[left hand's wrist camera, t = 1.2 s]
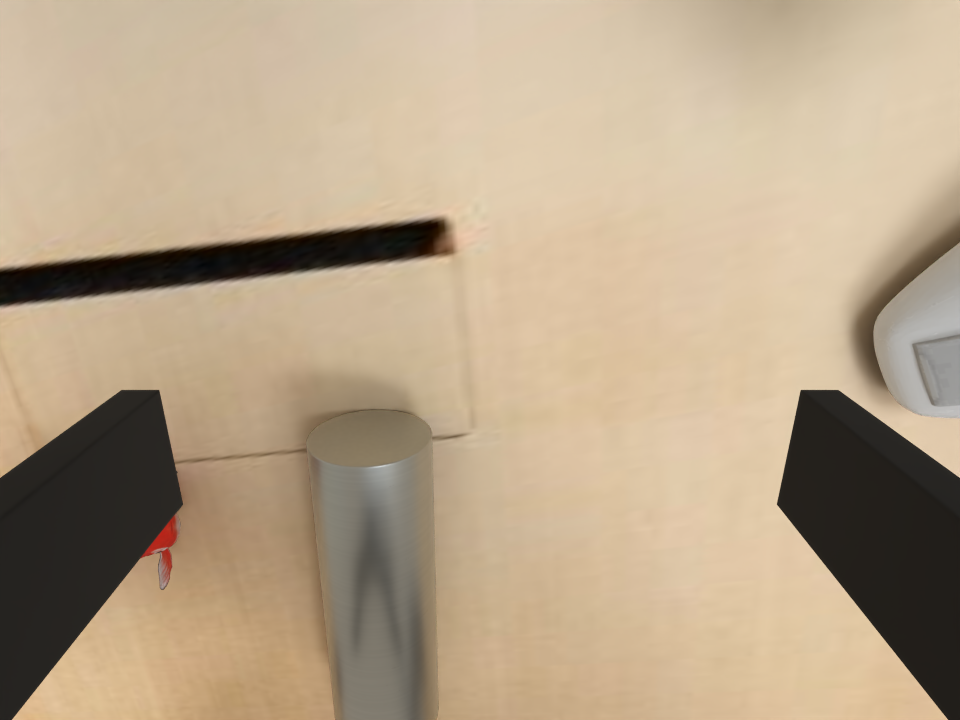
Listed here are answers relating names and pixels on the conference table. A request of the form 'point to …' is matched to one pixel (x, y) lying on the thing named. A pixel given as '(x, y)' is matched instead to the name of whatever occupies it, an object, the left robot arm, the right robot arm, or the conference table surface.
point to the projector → (924, 341)
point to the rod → (377, 562)
